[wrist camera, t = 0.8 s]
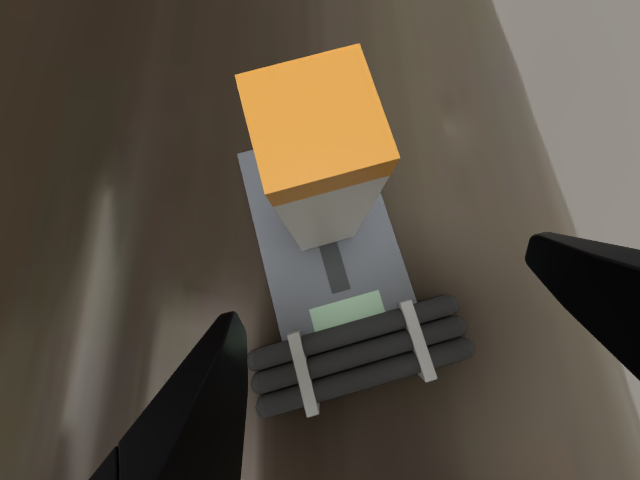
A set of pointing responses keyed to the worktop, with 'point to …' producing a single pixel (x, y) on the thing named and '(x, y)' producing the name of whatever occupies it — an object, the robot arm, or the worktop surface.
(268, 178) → the orange-topped grey block
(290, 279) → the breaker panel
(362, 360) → the cord bundle
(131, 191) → the worktop surface
